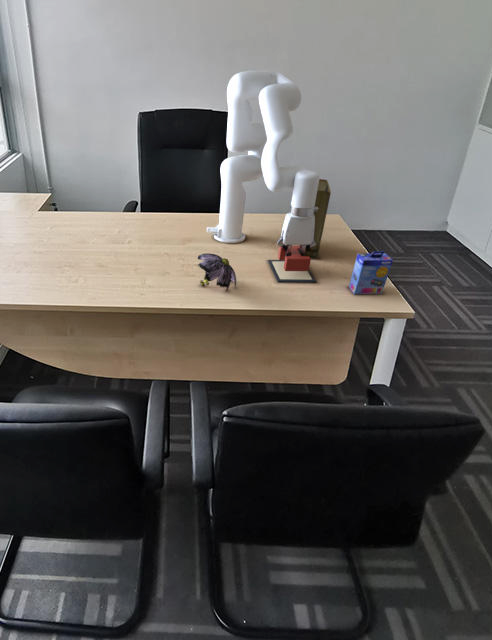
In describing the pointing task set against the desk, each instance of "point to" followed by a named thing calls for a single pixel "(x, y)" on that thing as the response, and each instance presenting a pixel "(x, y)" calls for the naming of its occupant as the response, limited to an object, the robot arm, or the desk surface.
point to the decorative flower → (217, 270)
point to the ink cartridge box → (370, 273)
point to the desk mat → (290, 273)
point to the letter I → (294, 260)
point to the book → (319, 216)
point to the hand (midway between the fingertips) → (293, 262)
